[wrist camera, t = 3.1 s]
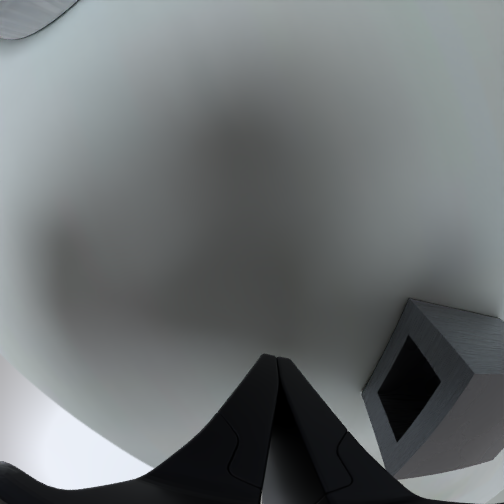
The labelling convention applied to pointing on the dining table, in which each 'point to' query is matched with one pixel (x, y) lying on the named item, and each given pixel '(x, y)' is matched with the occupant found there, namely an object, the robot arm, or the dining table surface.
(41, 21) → the ramekin
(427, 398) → the socket
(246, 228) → the dining table surface
